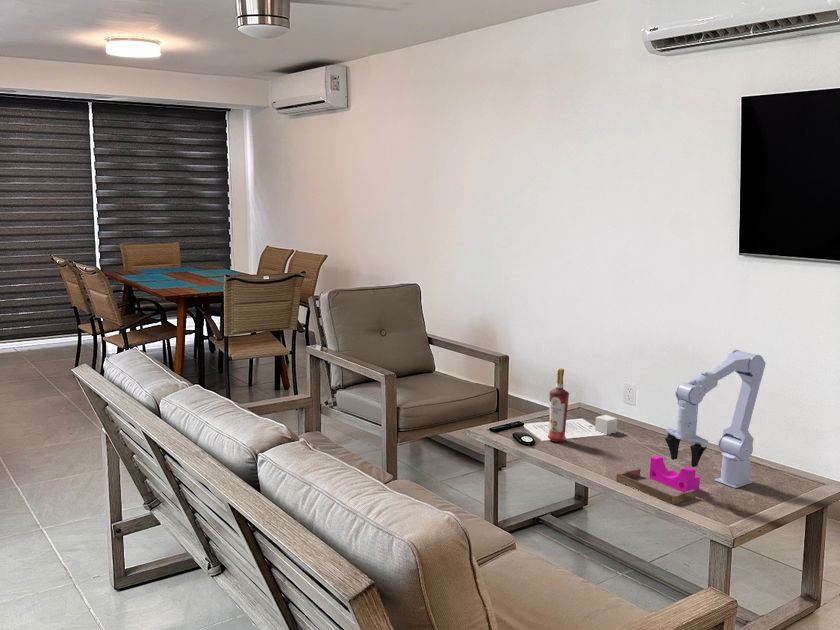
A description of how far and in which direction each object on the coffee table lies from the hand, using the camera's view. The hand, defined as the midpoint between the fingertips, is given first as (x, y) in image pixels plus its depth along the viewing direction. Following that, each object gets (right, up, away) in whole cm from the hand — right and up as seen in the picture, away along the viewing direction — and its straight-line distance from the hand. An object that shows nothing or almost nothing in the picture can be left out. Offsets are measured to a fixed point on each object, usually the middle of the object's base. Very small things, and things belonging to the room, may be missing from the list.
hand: (684, 462), depth 243 cm
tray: (-8, -9, +4) cm, 13 cm away
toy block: (0, -9, +9) cm, 13 cm away
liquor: (-31, -2, +51) cm, 60 cm away
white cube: (-10, 0, +63) cm, 64 cm away
